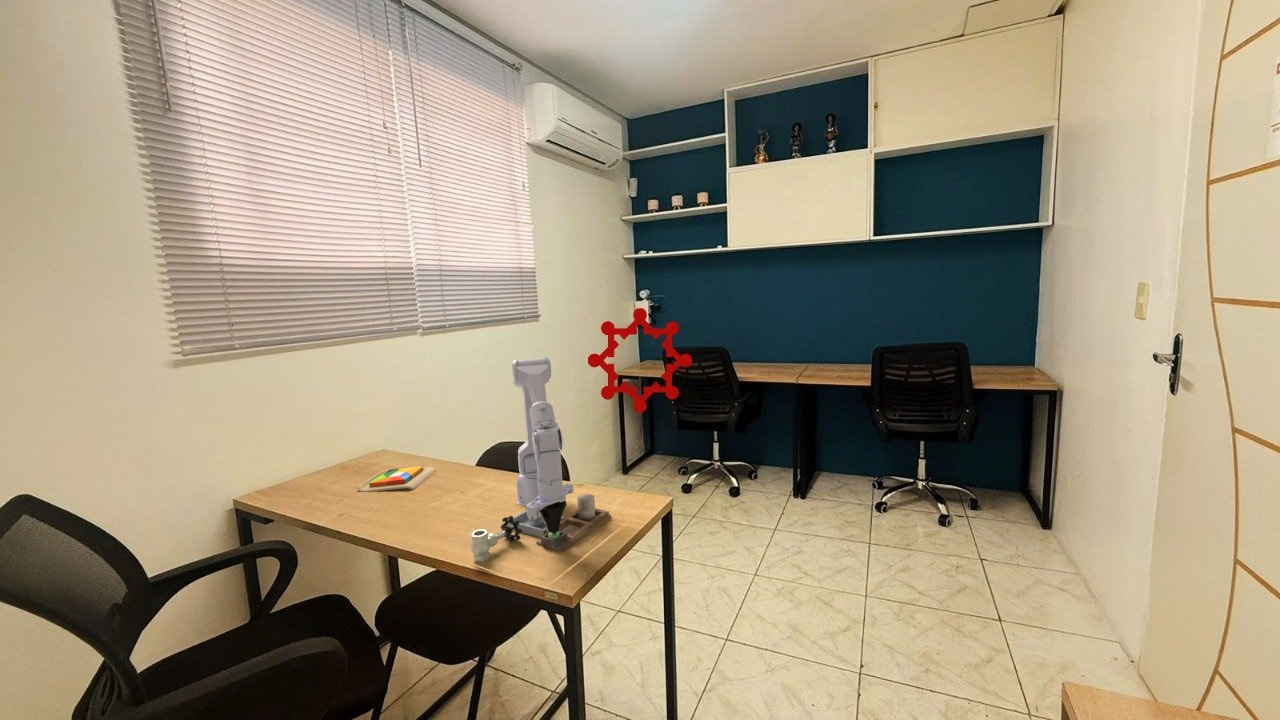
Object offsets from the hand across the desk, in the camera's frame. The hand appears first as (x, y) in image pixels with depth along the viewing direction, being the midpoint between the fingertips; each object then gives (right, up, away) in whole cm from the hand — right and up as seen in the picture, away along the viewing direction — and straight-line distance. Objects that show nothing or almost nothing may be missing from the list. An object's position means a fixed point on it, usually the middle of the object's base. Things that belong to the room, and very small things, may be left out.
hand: (553, 531), depth 116 cm
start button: (0, -2, 0) cm, 2 cm away
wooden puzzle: (-61, -1, +48) cm, 78 cm away
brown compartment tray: (+4, -3, +7) cm, 9 cm away
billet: (-6, -2, +10) cm, 12 cm away
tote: (-6, -3, +10) cm, 12 cm away
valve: (-14, -5, -1) cm, 15 cm away
